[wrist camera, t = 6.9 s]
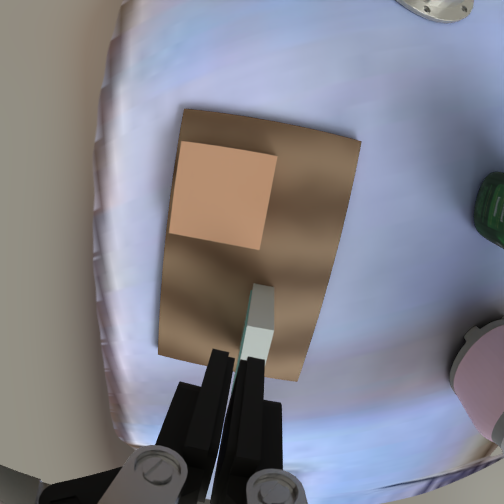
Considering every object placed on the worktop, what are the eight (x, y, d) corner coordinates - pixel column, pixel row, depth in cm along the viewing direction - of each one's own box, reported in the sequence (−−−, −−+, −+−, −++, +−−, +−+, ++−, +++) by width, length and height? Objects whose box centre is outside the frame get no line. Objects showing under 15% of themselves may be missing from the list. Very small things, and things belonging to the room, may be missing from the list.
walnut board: (186, 110, 27) (184, 108, 26) (358, 141, 27) (361, 141, 26) (160, 349, 35) (157, 354, 34) (296, 376, 35) (297, 381, 34)
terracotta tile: (277, 156, 27) (188, 141, 27) (277, 156, 25) (181, 141, 25) (260, 243, 29) (175, 227, 29) (259, 250, 27) (168, 232, 27)
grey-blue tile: (252, 282, 31) (245, 325, 23) (274, 287, 31) (274, 330, 23) (238, 350, 33) (229, 401, 25) (258, 354, 33) (254, 405, 25)
